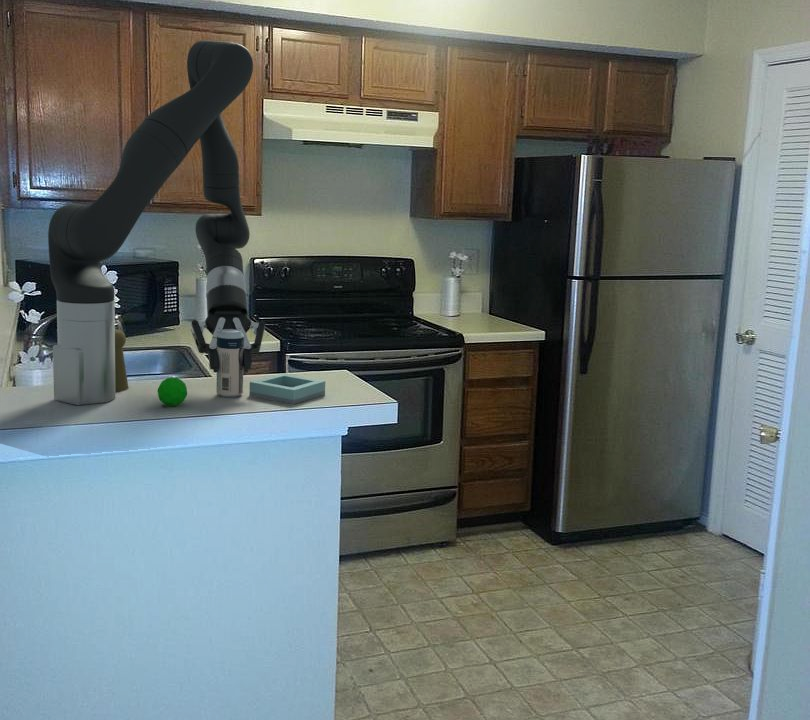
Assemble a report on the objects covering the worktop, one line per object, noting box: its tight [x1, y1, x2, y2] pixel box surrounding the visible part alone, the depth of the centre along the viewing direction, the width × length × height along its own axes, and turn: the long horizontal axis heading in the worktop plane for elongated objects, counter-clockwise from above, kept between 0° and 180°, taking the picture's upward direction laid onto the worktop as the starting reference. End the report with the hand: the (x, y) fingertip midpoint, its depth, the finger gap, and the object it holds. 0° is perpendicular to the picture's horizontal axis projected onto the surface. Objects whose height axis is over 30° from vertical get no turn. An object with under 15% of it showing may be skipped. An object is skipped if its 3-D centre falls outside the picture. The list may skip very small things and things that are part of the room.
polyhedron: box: [157, 376, 188, 407], centre depth 143 cm, size 5×5×5 cm
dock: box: [248, 373, 326, 405], centre depth 155 cm, size 10×10×3 cm
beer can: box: [216, 329, 244, 398], centre depth 152 cm, size 5×5×12 cm
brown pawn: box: [115, 328, 129, 393], centre depth 152 cm, size 6×6×11 cm
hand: (231, 369), depth 150 cm, fingers closed on beer can, 4 cm apart
